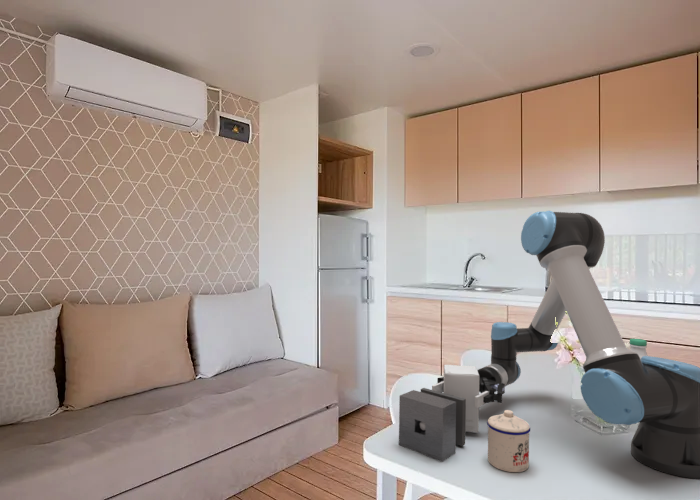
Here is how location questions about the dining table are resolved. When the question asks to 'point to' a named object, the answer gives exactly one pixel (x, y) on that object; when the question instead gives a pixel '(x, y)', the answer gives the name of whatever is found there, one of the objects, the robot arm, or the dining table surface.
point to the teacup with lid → (508, 442)
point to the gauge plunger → (459, 414)
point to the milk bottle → (638, 347)
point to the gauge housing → (427, 424)
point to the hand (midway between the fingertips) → (453, 396)
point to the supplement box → (464, 391)
